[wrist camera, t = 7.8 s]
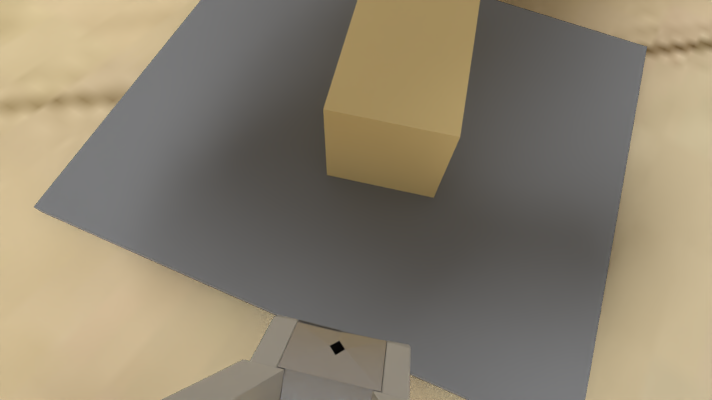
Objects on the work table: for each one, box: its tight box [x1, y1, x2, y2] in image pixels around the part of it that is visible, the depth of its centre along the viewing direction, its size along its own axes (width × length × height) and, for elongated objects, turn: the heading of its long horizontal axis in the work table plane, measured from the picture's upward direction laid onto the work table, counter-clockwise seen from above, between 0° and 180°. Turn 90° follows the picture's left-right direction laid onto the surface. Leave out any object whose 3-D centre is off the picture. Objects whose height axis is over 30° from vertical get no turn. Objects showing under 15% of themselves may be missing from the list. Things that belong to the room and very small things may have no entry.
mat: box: [34, 0, 647, 400], centre depth 22 cm, size 24×21×1 cm
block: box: [323, 0, 480, 198], centre depth 21 cm, size 5×5×12 cm
